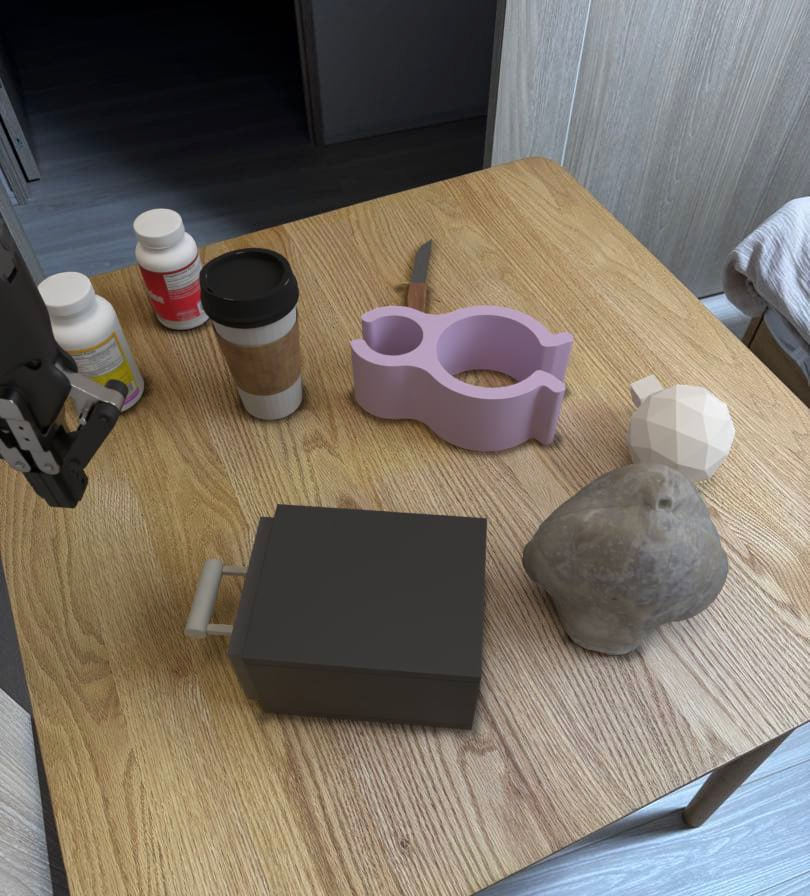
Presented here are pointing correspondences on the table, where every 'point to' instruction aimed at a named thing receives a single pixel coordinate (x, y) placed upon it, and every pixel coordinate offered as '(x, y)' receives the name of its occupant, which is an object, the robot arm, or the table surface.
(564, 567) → the decorative stone
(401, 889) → the table surface
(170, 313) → the pill bottle
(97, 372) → the supplement bottle
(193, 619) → the dark brown drawer
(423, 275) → the knife
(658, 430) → the perfume bottle
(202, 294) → the coffee cup
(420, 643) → the dark grey drawer box
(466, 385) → the clip
